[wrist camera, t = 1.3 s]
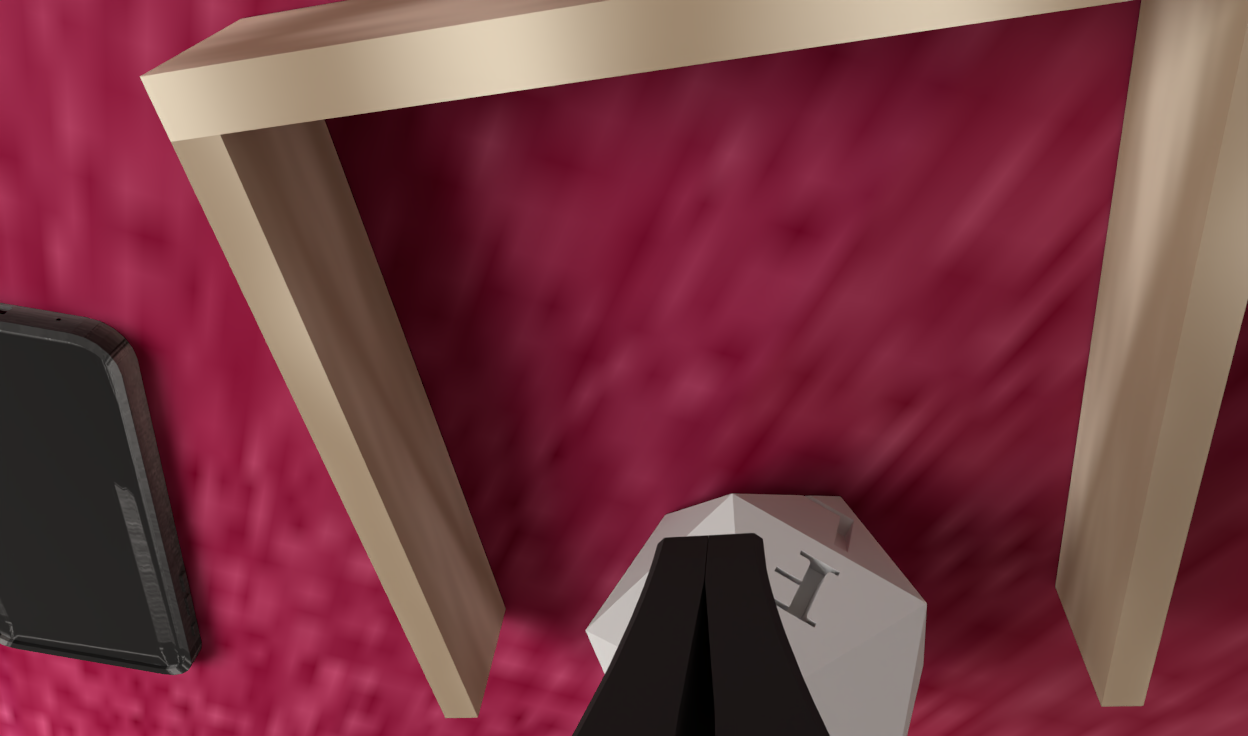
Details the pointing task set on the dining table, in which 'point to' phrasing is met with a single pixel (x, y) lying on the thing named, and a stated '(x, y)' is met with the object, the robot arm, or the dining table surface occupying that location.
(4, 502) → the phone
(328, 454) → the wooden frame
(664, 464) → the dining table surface
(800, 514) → the die
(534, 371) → the dining table surface
